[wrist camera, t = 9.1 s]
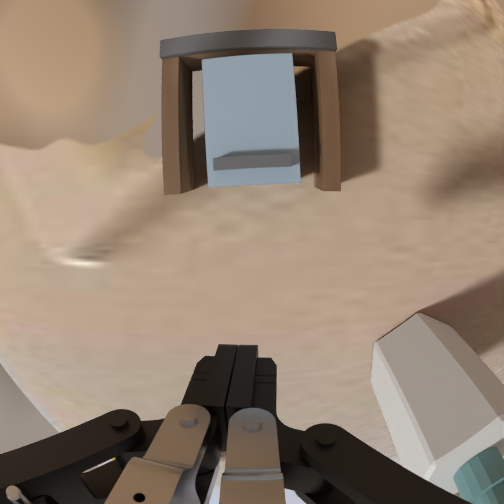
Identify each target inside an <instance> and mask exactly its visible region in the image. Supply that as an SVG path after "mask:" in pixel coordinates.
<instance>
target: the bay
mask: <svg viewBox="0 0 504 504" xmlns="http://www.w3.org/2000/svg"><path fill="white" fill-rule="evenodd" d="M336 50H337V45H336V36H335V32H328V31H316V30H292V29H289V30H288V29H262V30H239V31H225V32H214V33H205V34H197V35H190V36H183V37H178V38H172V39H166V40H161V41H160V58H161V59H162V60H163V61H162V158H163V180H164V195H170V194H182V193H185V192H188V191H191V190H194V189H195V184H194V159H193V120H192V71H199V70H202V60H203V59H211V58H220V57H229V56H240V55H255V54H279V53H292V57H293V66H305V67H311V82H312V102H313V127H314V187H316V188H318V189H320V190H322V191H341V143H340V114H339V95H338V80H337V67H336V55H335V51H336Z"/></svg>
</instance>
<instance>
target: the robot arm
mask: <svg viewBox="0 0 504 504" xmlns="http://www.w3.org/2000/svg"><path fill="white" fill-rule="evenodd" d="M276 376H277V366H276V364H275V363H274V361H273V360H272V358H258V345H239V346H238V345H227V344H219V345H218V348H217V351H216V354H215V356H205V357H203V358H202V359H201V360H200V361H199V362H198V363H197V365H196V367H195V370H194V374H193V375H192V377H191V381H190V382H189V385H188V388H187V390H186V393H185V395H184V398H183V400H182V403H181V405H179V406H177V407H175V408H173V409H171V410H170V411H169V412H168V414H167V415H166V417H165V418H164V419H160V420H151V421H141V420H140V418H139V416H138V415H137V414H136V413H134V412H133V411H130V410H126V409H118V410H113V411H111V412H108V413H106V414H104V415H102V416H99V417H97V418H95V419H92V420H90V421H88V422H85V423H83V424H81V425H78V426H76V427H73V428H71V429H69V430H66V431H64V432H61V433H59V434H56V435H54V436H51V437H49V438H46V439H43V440H40V441H38V442H35V443H32V444H29V445H27V446H24V447H21V448H18V449H15V450H12V451H9V452H6V453H3V454H0V504H209V501H210V497H211V494H212V491H213V488H214V484H215V481H216V478H217V475H218V471H219V461H220V456H221V451H225V452H226V464H225V473H223V474H222V478H221V488H220V500H219V504H286V501H285V491H284V488H286V489H290V490H294V491H295V493H296V494H297V495H298V496H299V497H300V498H301V499H302V500H303V501H304V502H305V503H306V504H472V503H470V502H468V501H466V500H464V499H462V498H461V496H460V494H459V492H457V493H456V494H452V493H450V492H448V491H446V490H444V489H442V488H440V487H438V486H436V485H435V484H433V483H431V482H429V481H427V480H425V479H424V478H422V477H420V476H418V475H416V474H415V473H413V472H411V471H409V470H408V469H406V468H404V467H403V466H401V465H399V464H398V463H396V462H394V461H393V460H391V459H389V458H388V457H386V456H384V455H383V454H381V453H380V452H378V451H376V450H375V449H373V448H372V447H370V446H369V445H367V444H365V443H364V442H362V441H361V440H359V439H358V438H356V437H355V436H353V435H352V434H350V433H349V432H347V431H346V430H344V429H343V428H341V427H339V426H337V425H334V424H326V423H323V424H317V425H314V426H311V427H309V428H308V429H307V430H306V431H302V430H297V429H293V428H290V427H288V426H286V425H284V424H283V423H282V422H281V421H280V420H279V419H278V417H277V414H276V378H277V377H276ZM112 458H115V460H113V461H111V462H109V463H107V464H104V465H102V466H100V467H98V468H96V469H94V470H91V471H89V472H86V473H82V472H84V471H85V470H88V469H90V468H92V467H94V466H97V465H99V464H101V463H103V462H105V461H107V460H110V459H112Z"/></svg>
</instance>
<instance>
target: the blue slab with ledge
mask: <svg viewBox="0 0 504 504" xmlns="http://www.w3.org/2000/svg"><path fill="white" fill-rule="evenodd" d="M202 79H203V103H204V125H205V143H206V160H207V175H208V188H212V187H227V186H244V185H264V184H290V183H301V179H300V156H299V137H298V121H297V106H296V92H295V80H294V69H293V57H292V53H279V54H255V55H240V56H229V57H220V58H211V59H203V60H202Z"/></svg>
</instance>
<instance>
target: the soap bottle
mask: <svg viewBox="0 0 504 504" xmlns="http://www.w3.org/2000/svg"><path fill="white" fill-rule="evenodd" d="M370 382H371V385H372V387H373V390H374V392H375V395H376V397H377V400H378V403H379V405H380V408H381V410H382V413H383V416H384V418H385V421H386V423H387V426H388V429H389V431H390V434H391V437H392V440H393V442H394V445H395V448H396V451H397V454H398V456H399V459H400V462H401V465H402V466H403V467H404V468H406V469H408V470H409V471H411V472H413V473H415V474H416V475H418V476H420V477H422V478H424V479H425V480H427V481H429V482H431V483H433V484H435V485H436V486H438V487H440V488H442V489H444V490H446V491H448V492H450V493H452V494H456V493H457V492H459V494H460V496H461V498H462V499H464V500H466V501H468V502H470V503H472V504H504V385H503V384H502V383H501V381H500V380H499V379H498V378H497V377H496V376H495V374H494V373H493V372H492V371H491V370H490V369H489V367H488V366H487V365H486V364H485V363H484V362H483V361H482V359H481V358H480V357H479V356H478V355H477V354H476V353H475V352H474V351H473V350H472V348H471V347H470V346H469V345H468V344H467V343H466V342H465V341H464V340H463V339H462V338H461V337H460V336H459V334H458V333H457V332H456V331H455V330H454V329H453V328H452V327H451V326H449V325H447V324H445V323H443V322H440V321H438V320H436V319H434V318H431V317H429V316H427V315H424V314H422V313H416V314H415V315H414V316H412V317H411V318H410V319H408V320H407V321H406V322H404V323H403V324H401V325H400V326H399V327H397V328H396V329H394V330H393V331H391V332H390V333H389V334H387V335H386V336H384V337H383V338H381V339H380V340H378V341H377V342H376V343H375V345H374V350H373V361H372V371H371V380H370Z"/></svg>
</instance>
